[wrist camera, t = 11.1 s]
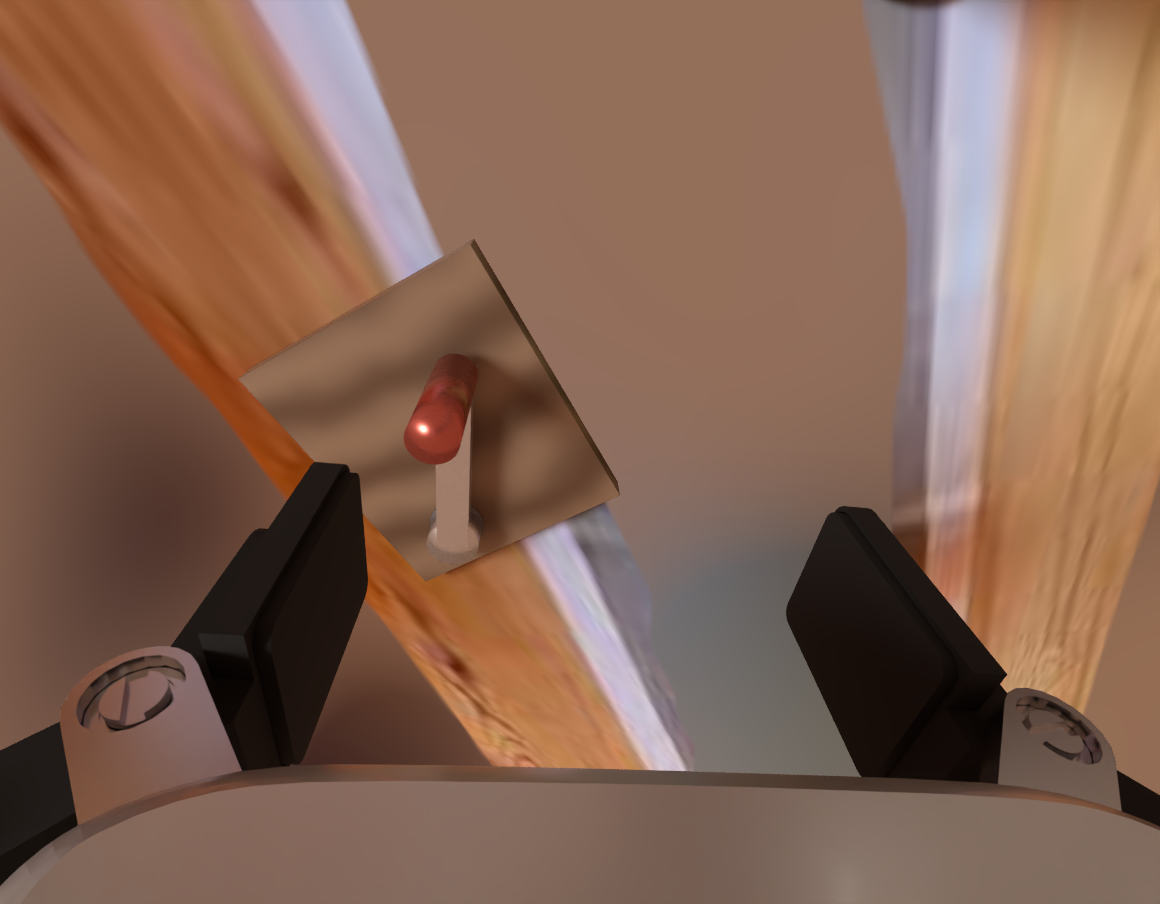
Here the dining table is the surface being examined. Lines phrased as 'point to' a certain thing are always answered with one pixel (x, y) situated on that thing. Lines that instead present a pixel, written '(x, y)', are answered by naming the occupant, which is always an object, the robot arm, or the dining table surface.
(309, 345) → the lever board
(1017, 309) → the dining table surface
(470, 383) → the lever
